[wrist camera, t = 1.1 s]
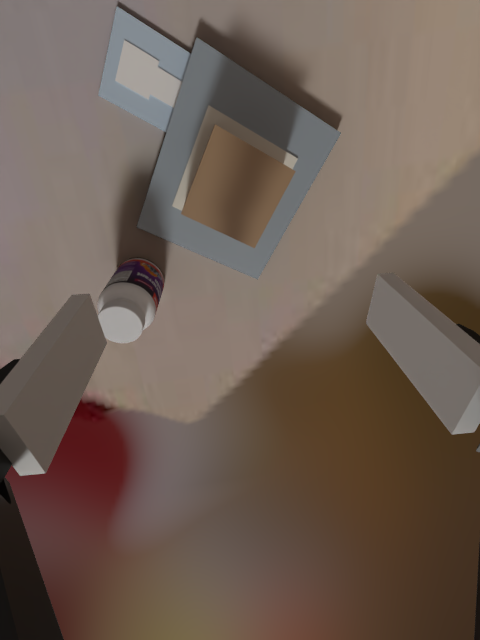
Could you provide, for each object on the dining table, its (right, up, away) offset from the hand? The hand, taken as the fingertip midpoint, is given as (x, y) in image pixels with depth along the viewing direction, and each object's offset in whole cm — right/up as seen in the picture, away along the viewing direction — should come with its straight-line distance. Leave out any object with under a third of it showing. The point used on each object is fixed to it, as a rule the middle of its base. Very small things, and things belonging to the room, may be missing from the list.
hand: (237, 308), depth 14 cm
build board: (-1, +13, +16) cm, 21 cm away
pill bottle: (-11, +4, +21) cm, 24 cm away
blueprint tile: (-7, +19, +11) cm, 23 cm away
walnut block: (-1, +12, +14) cm, 19 cm away
